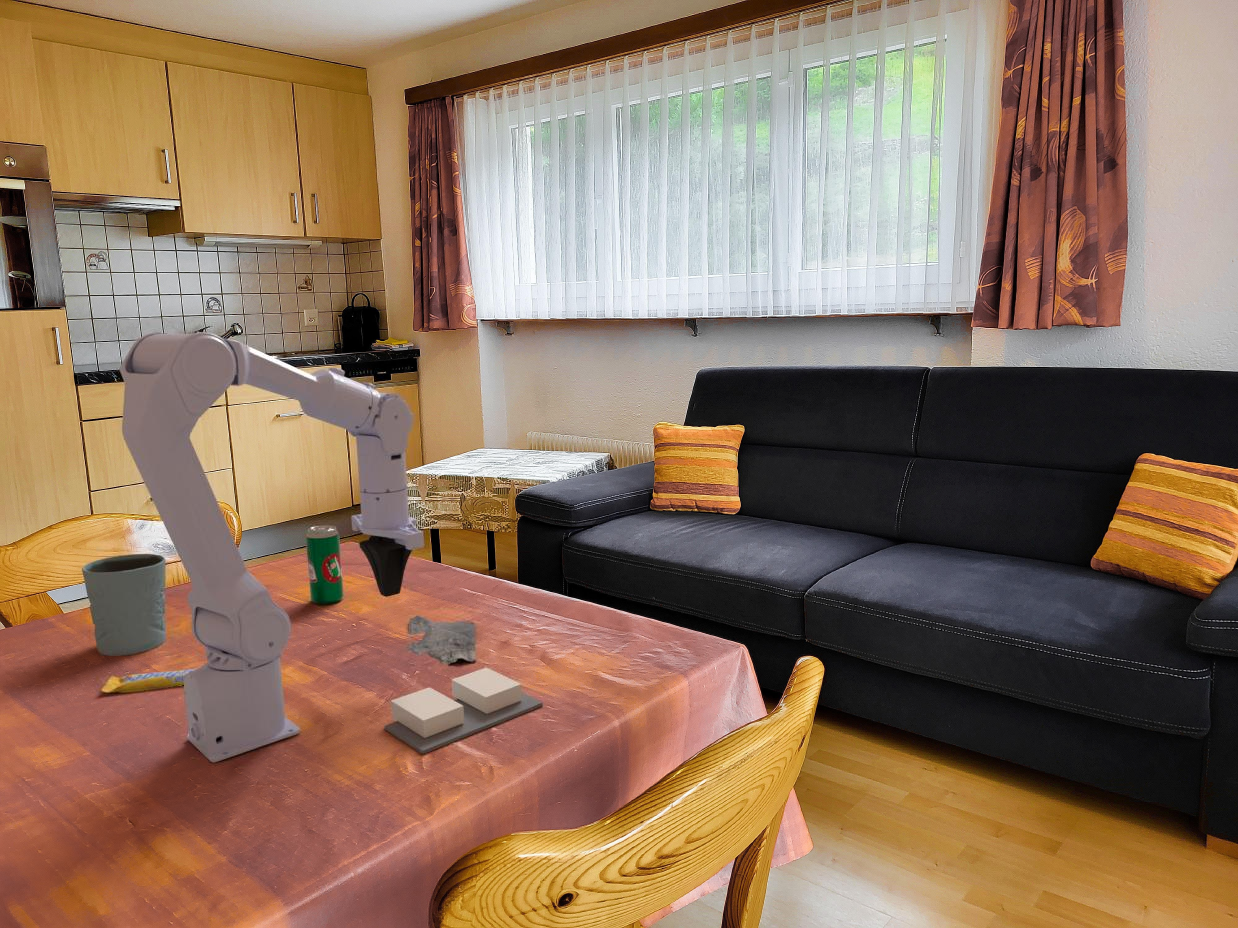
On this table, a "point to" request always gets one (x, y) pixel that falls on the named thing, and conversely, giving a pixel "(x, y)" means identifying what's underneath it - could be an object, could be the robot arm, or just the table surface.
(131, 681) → the candy bar
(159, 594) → the grey green cup
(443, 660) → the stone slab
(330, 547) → the soda can
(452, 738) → the mat
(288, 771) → the table surface
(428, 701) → the beige flat block
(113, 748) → the table surface
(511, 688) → the tan upright block
